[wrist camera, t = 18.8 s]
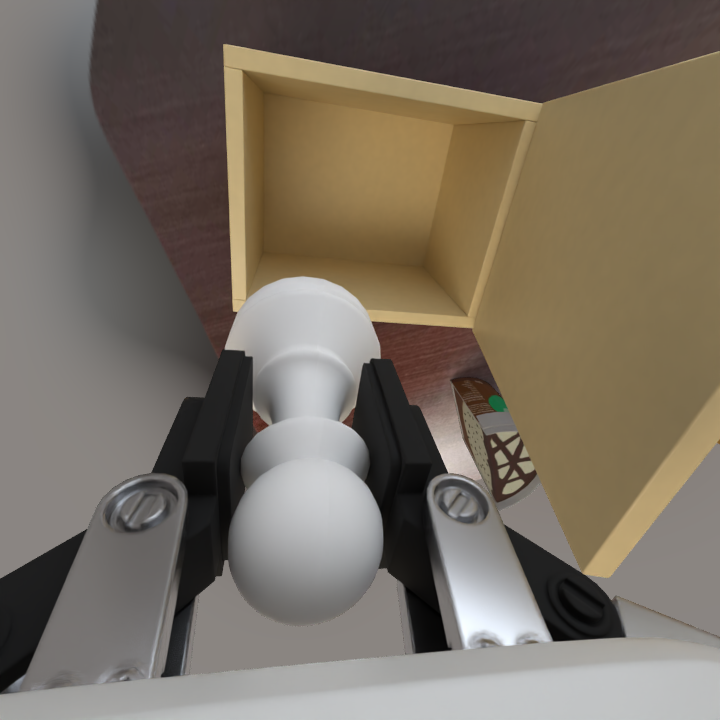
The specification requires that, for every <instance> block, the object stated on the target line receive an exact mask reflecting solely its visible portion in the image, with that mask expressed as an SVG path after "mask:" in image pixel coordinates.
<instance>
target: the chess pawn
mask: <svg viewBox="0 0 720 720" xmlns="http://www.w3.org/2000/svg"><path fill="white" fill-rule="evenodd" d="M225 350H241V351H245V356H252V357H253V410H254V411H256V412H258V414H259V415H260V417H261V418H262V419H263V420H264V421H265V422H266V423H267V424H268V425H270V426H268V427H267V428H265V429H264V430H262V431H261V432H259V433H258V434H256V436H255V437H254V438H253V439H252V440H251V441H250V442H249V443H248V445H247V446H246V448H245V450H244V452H243V455H242V457H241V467H240V473H241V476H242V479H243V482H244V485H245V487H246V488H247V491H246V492H245V493H244V494H243V496H242V498H241V500H240V502H239V504H238V506H237V508H236V510H235V513H234V515H233V517H232V520H231V523H230V528H229V535H228V561H229V567H230V571H231V574H232V577H233V579H234V582H235V583H236V586H237V588H238V590H239V592H240V594H241V596H242V597H243V598H244V600H245V601H247V603H248V604H249V605H250V606H251V607H253V608H254V609H255V610H256V611H257V612H258V613H260V614H261V615H263V616H264V617H266V618H269V619H270V620H273V621H275V622H278V623H282V624H286V625H291V626H310V625H315V624H320V623H323V622H327V621H330V620H332V619H334V618H336V617H338V616H340V615H342V614H343V613H345V612H346V611H347V610H349V609H350V608H351V607H353V606H354V605H355V604H356V603H357V602H358V601H359V600H360V599H361V598H362V596H363V595H364V594H365V593H366V591H367V590H368V589H369V587H370V586H371V584H372V582H373V580H374V578H375V575H376V573H377V570H378V568H379V565H380V561H381V558H382V553H383V545H384V538H383V524H382V517H381V513H380V510H379V507H378V505H377V502H376V500H375V499H374V497H373V495H372V493H371V491H370V489H369V488H368V486H367V485H366V484H365V483H364V481H365V479H366V477H367V474H368V470H369V467H370V457H369V450H368V448H367V446H366V444H365V442H364V440H363V439H362V438H361V437H360V436H359V435H358V434H357V433H356V432H355V431H354V430H353V429H351V428H350V427H348V426H346V425H344V424H342V422H343V421H344V420H345V419H346V418H347V417H348V416H349V414H350V412H351V410H352V409H353V408H355V406H356V400H357V395H358V389H359V383H360V377H361V371H362V366H363V364H364V363H369V362H370V359H371V358H375V359H381V356H380V344H379V341H378V338H377V336H376V333H375V330H374V328H373V325H372V323H371V320H370V317H369V315H368V312H367V311H366V310H365V308H364V307H363V306H362V304H361V303H360V302H359V300H358V299H357V298H356V297H355V296H353V295H352V294H351V293H349V292H348V291H347V290H346V289H344V288H343V287H342V286H339V285H337V284H334V283H332V282H329V281H327V280H325V279H319V278H312V277H305V276H301V277H293V278H284V279H281V280H278V281H276V282H273V283H270V284H268V285H265V286H263V287H262V288H261V289H259V290H258V291H257V292H255V293H254V294H253V295H251V296H250V297H249V298H248V299H247V300H246V302H245V303H244V304H243V306H242V307H241V308H240V310H239V311H238V313H237V315H236V318H235V321H234V323H233V326H232V328H231V331H230V334H229V337H228V340H227V343H226V345H225Z"/></svg>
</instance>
